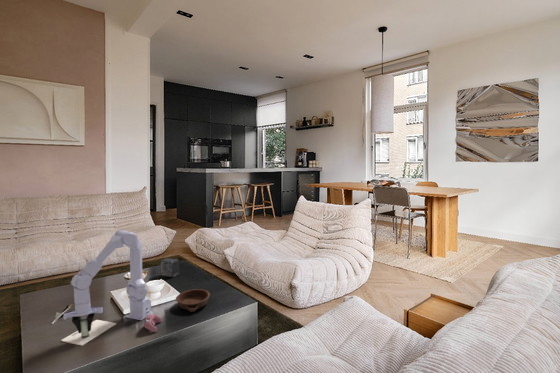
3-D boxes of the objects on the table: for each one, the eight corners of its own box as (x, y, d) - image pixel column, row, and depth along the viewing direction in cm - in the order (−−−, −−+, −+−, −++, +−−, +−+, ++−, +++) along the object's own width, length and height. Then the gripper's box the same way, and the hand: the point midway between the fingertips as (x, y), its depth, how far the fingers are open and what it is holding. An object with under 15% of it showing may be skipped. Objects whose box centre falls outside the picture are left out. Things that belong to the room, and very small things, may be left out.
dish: (173, 316, 157) (173, 307, 156) (178, 297, 178) (178, 288, 178) (209, 312, 160) (209, 303, 160) (210, 294, 182) (210, 285, 181)
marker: (91, 334, 141) (89, 317, 140) (86, 338, 138) (85, 320, 137) (84, 334, 141) (82, 317, 140) (79, 338, 138) (78, 320, 137)
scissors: (42, 326, 150) (41, 321, 150) (64, 305, 171) (64, 301, 171) (60, 324, 152) (59, 320, 151) (80, 304, 172) (79, 300, 172)
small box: (180, 274, 213) (179, 259, 212) (173, 278, 207) (172, 262, 206) (167, 272, 217) (167, 257, 216) (160, 275, 211) (159, 260, 210)
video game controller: (154, 325, 152) (147, 313, 151) (163, 320, 152) (155, 308, 151) (148, 336, 142) (140, 323, 141) (157, 331, 142) (149, 318, 141)
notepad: (116, 324, 150) (116, 323, 150) (82, 345, 133) (81, 344, 133) (96, 320, 154) (96, 319, 154) (61, 341, 137) (61, 340, 137)
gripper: (102, 294, 144) (104, 323, 146) (65, 300, 139) (67, 330, 140) (100, 301, 138) (102, 330, 139) (61, 307, 133) (63, 338, 134)
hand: (85, 331), depth 139 cm, fingers closed on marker, 3 cm apart
